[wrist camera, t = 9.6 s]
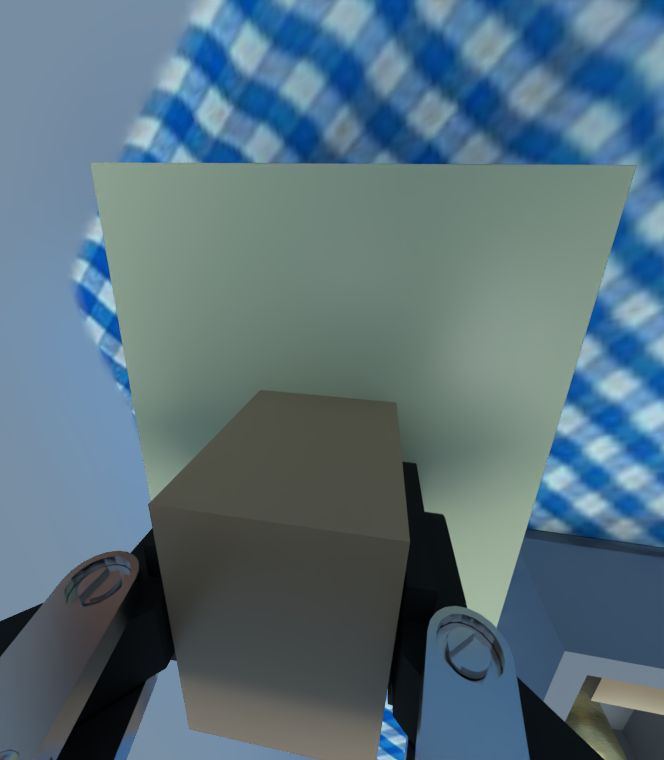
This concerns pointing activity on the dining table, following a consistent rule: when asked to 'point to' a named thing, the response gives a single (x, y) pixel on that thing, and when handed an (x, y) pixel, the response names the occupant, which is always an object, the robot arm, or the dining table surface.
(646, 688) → the pine block
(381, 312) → the lid
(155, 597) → the robot arm
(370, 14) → the dining table surface
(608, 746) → the brass slug
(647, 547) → the tub
